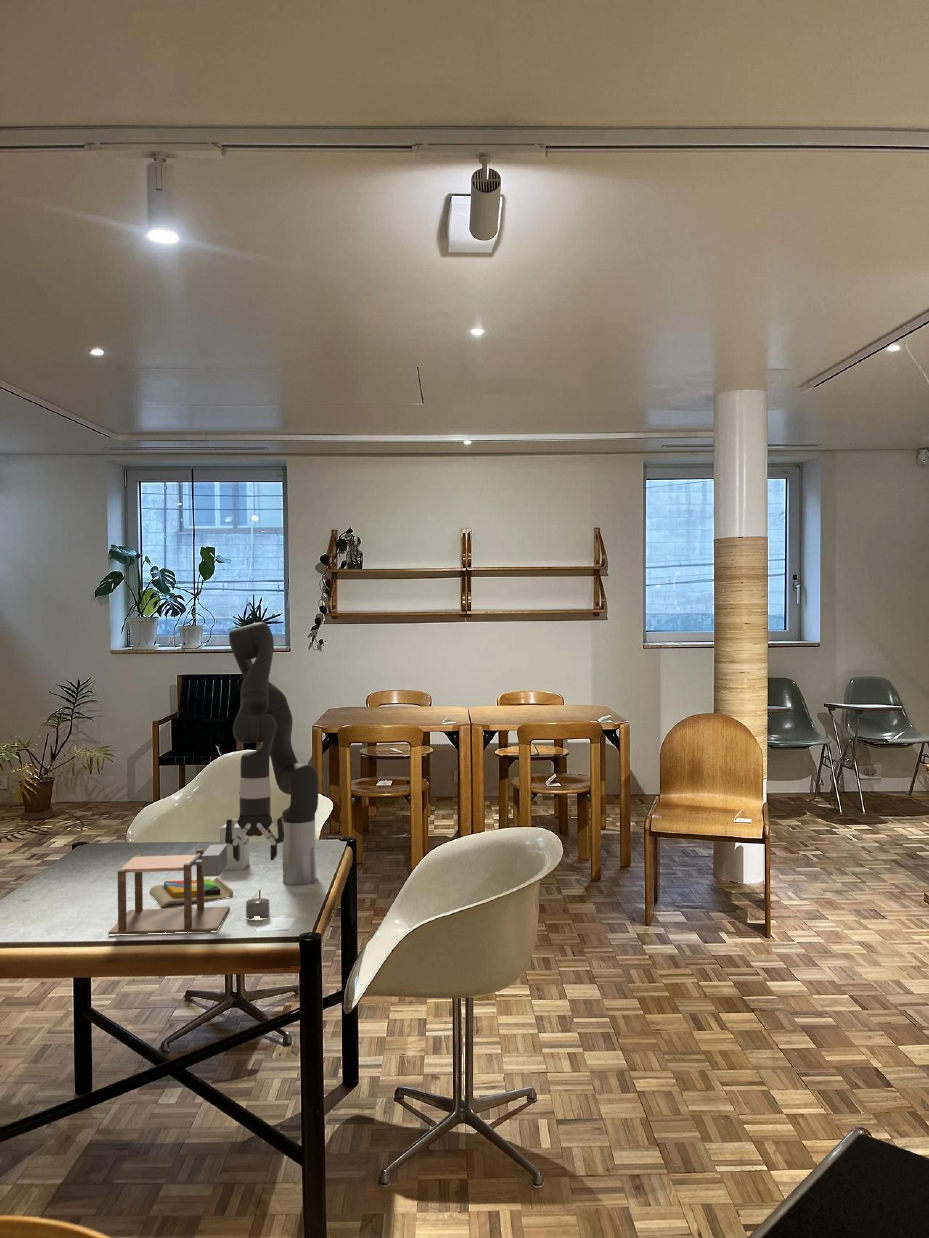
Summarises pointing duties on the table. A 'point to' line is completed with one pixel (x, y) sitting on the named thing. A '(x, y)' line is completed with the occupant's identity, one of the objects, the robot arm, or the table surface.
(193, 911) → the trapdoor stand
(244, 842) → the supplement box
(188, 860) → the trapdoor
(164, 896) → the wooden puzzle
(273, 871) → the table surface
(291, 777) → the robot arm
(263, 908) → the stubby grey cylinder
